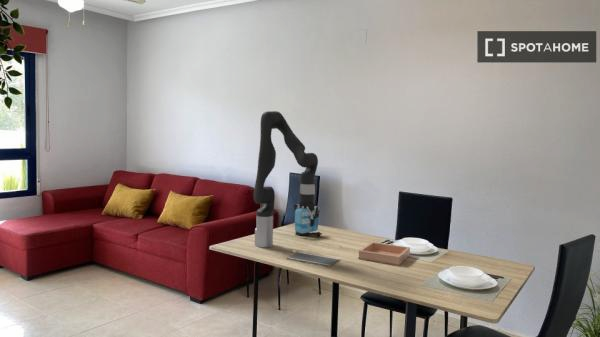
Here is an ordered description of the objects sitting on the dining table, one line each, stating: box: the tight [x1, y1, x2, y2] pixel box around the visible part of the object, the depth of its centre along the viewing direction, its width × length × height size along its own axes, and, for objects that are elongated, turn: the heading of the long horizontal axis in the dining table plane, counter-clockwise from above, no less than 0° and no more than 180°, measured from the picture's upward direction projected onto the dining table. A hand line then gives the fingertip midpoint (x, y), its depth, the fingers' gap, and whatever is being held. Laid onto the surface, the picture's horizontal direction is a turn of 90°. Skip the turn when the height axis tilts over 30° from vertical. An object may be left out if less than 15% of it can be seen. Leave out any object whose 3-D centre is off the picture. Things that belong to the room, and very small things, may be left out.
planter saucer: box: [358, 241, 411, 266], centre depth 235 cm, size 21×20×4 cm
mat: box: [286, 251, 341, 268], centre depth 229 cm, size 24×12×1 cm, turn 62°
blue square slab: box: [294, 207, 319, 233], centre depth 229 cm, size 12×4×12 cm, turn 130°
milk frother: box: [295, 231, 323, 237], centre depth 278 cm, size 14×16×15 cm
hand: (306, 225), depth 229 cm, fingers closed on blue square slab, 5 cm apart
